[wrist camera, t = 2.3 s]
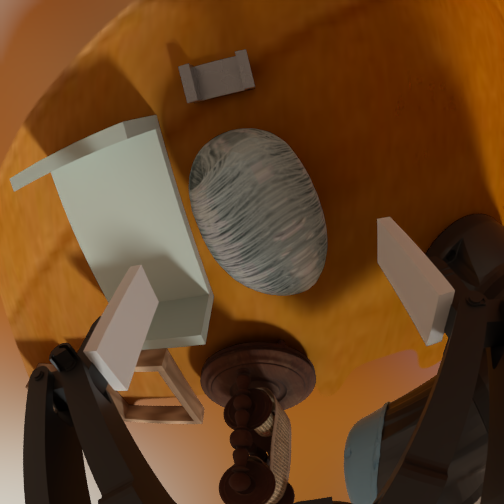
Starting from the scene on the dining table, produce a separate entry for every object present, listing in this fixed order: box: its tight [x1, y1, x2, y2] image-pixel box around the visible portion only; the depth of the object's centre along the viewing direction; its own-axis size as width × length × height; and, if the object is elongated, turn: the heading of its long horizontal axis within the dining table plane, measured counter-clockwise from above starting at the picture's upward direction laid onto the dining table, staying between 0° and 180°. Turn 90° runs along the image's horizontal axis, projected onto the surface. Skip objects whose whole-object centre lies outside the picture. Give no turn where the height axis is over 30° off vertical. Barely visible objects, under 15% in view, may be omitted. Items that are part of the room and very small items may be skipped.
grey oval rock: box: [189, 128, 327, 296], centre depth 23 cm, size 14×10×10 cm
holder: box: [10, 115, 214, 350], centre depth 24 cm, size 12×19×7 cm, turn 12°
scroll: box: [200, 340, 316, 504], centre depth 29 cm, size 15×15×20 cm
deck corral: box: [106, 348, 204, 424], centre depth 38 cm, size 15×15×3 cm
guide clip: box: [178, 49, 255, 103], centre depth 19 cm, size 5×3×3 cm, turn 102°
